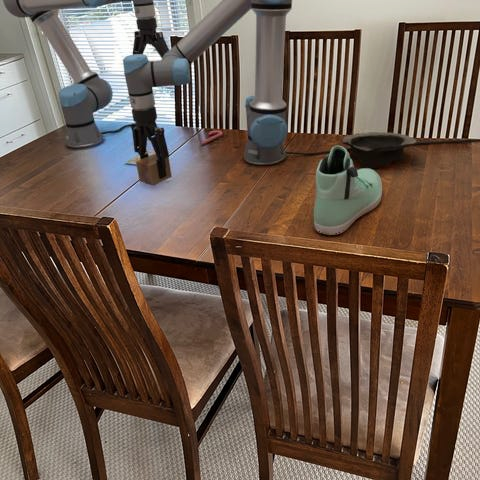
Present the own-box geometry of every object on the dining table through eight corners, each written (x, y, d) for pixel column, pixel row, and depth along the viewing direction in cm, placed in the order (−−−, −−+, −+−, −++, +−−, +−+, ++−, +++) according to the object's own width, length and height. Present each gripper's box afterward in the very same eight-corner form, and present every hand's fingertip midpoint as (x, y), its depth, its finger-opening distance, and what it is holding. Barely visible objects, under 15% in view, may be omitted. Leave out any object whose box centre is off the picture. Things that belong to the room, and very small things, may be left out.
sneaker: (389, 187, 148) (396, 123, 138) (356, 242, 123) (361, 168, 112) (346, 181, 154) (350, 119, 144) (306, 232, 129) (307, 161, 118)
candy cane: (192, 143, 195) (191, 140, 194) (214, 132, 205) (214, 128, 204) (203, 146, 192) (203, 142, 191) (225, 134, 202) (225, 130, 201)
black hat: (374, 178, 154) (374, 150, 149) (327, 160, 174) (326, 135, 170) (431, 159, 163) (433, 133, 158) (380, 144, 183) (380, 120, 179)
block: (139, 181, 162) (135, 161, 158) (157, 172, 167) (154, 153, 164) (153, 186, 158) (150, 165, 154) (171, 176, 164) (168, 157, 160)
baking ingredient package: (124, 162, 180) (148, 148, 192) (124, 163, 181) (148, 150, 192) (143, 164, 177) (166, 151, 188) (143, 166, 177) (166, 152, 189)
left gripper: (117, 18, 186) (127, 74, 197) (161, 20, 172) (169, 80, 183) (132, 15, 191) (141, 70, 202) (176, 17, 177) (183, 76, 188)
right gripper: (113, 106, 153) (127, 173, 165) (156, 114, 142) (167, 185, 154) (131, 100, 158) (144, 165, 170) (174, 108, 147) (184, 176, 159)
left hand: (154, 75), depth 193 cm, fingers open, 13 cm apart
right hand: (155, 174), depth 162 cm, fingers closed on block, 7 cm apart
